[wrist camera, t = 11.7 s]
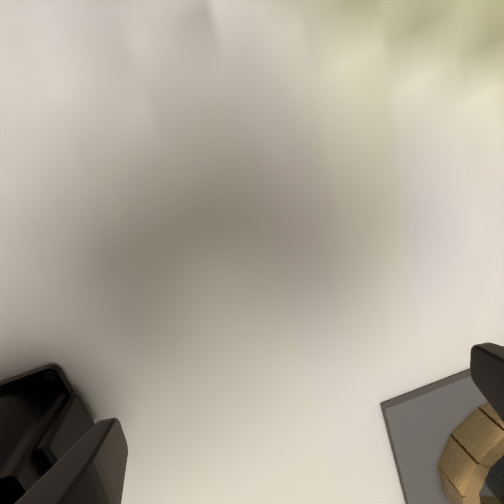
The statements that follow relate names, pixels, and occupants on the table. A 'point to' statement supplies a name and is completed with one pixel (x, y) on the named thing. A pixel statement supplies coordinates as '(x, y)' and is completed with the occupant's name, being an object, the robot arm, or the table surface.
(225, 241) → the table surface
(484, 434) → the ring collar
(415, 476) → the mat
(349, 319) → the table surface
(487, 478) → the grey tall cylinder
